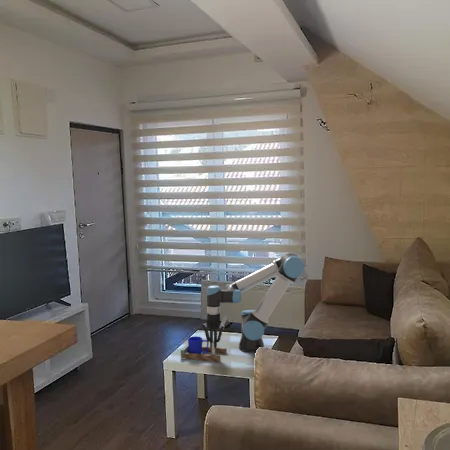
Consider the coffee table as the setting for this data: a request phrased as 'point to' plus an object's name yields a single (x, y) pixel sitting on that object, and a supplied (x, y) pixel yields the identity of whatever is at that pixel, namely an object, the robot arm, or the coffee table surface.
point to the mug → (196, 345)
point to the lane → (203, 357)
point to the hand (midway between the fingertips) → (213, 353)
